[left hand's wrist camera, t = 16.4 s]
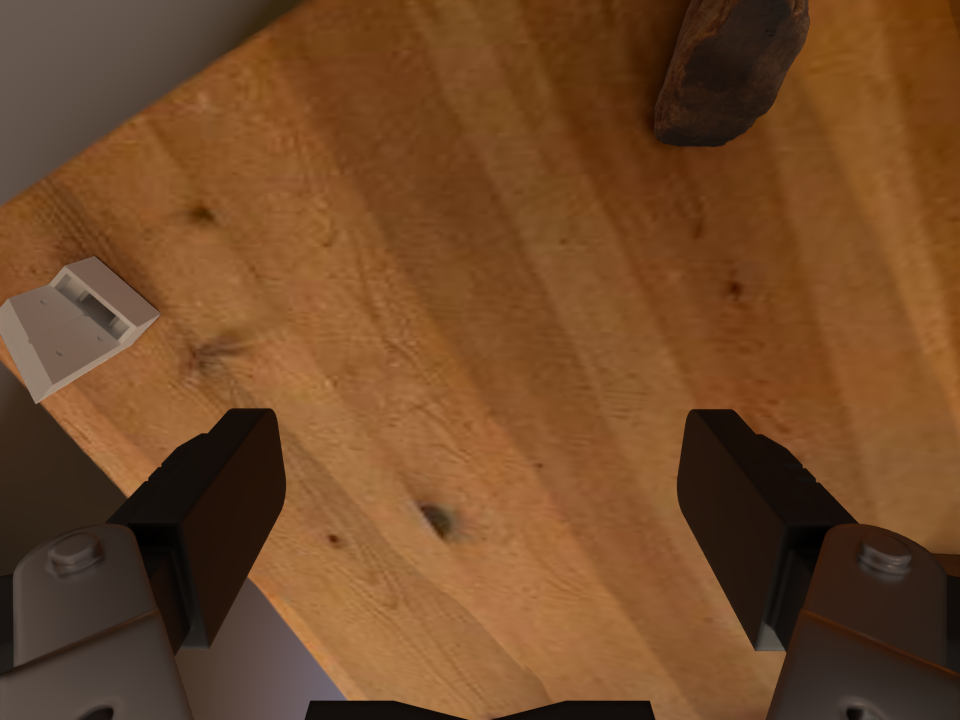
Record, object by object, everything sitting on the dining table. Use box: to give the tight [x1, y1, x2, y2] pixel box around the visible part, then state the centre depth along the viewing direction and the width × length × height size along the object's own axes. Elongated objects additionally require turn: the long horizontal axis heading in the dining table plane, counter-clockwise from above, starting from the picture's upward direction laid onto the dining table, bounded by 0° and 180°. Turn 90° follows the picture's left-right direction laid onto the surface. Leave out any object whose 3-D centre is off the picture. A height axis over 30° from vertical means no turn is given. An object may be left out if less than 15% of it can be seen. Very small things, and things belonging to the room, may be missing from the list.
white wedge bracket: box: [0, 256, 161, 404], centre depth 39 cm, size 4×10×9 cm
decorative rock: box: [654, 0, 810, 147], centre depth 31 cm, size 12×6×11 cm, turn 170°
